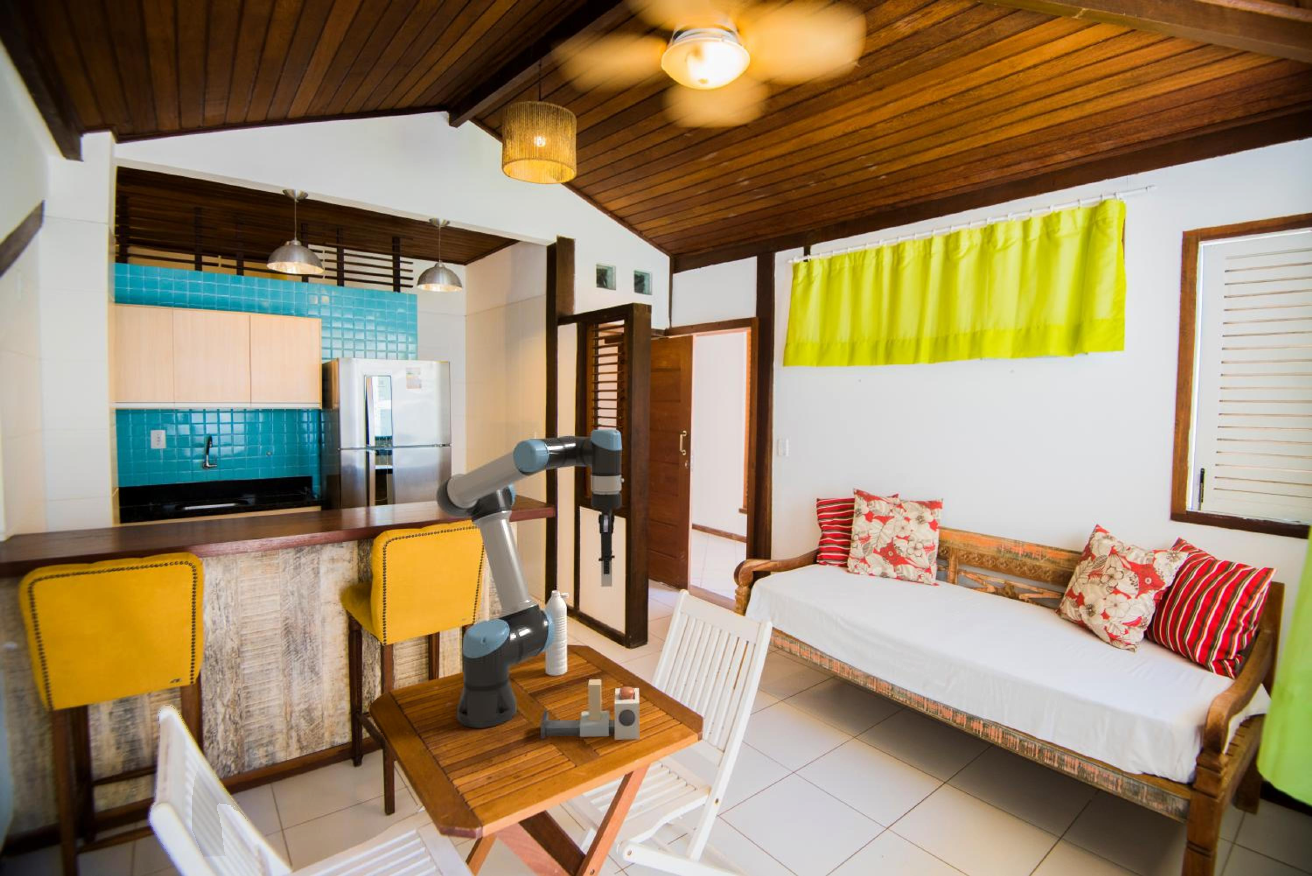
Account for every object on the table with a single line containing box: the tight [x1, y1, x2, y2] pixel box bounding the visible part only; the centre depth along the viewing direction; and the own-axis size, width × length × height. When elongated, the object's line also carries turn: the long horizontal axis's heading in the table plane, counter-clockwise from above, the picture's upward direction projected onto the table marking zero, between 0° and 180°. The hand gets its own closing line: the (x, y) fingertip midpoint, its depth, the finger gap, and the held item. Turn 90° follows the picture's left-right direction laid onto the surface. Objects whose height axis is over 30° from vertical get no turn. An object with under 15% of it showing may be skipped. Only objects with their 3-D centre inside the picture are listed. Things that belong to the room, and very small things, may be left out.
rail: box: [540, 710, 615, 740], centre depth 154 cm, size 19×6×4 cm, turn 92°
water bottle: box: [544, 590, 570, 677], centre depth 187 cm, size 9×6×25 cm
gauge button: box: [620, 686, 635, 700], centre depth 154 cm, size 4×4×6 cm
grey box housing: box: [614, 687, 640, 741], centre depth 154 cm, size 6×8×9 cm
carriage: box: [579, 678, 611, 738], centre depth 154 cm, size 7×7×12 cm
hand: (606, 585), depth 154 cm, fingers closed
